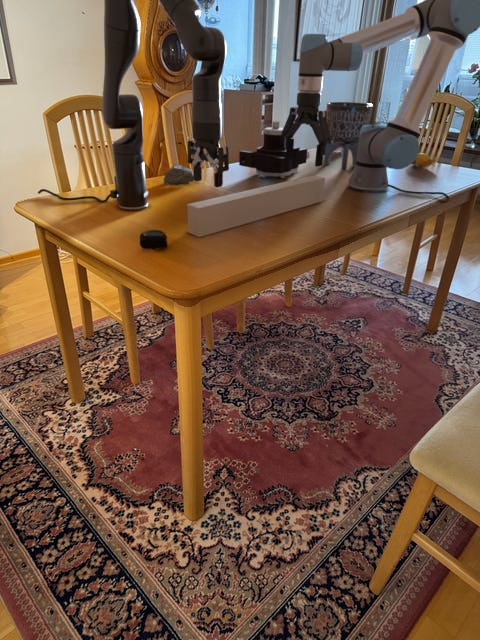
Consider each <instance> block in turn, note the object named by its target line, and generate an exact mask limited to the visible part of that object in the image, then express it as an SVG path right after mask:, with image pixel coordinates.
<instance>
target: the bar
mask: <svg viewBox="0 0 480 640" xmlns="http://www.w3.org/2000/svg"><path fill="white" fill-rule="evenodd" d="M325 183H326V177H324V176H319V175H315V174H314V175H308V176H305V177H300V178H296V179H291V180H288V181H287V180H286V181H283V182H278V183H274V184H269V185H265V186H260V187H257V188H256V187H255V188H253V189H247V190H242V191H239V192H234V193H231V194H227V195H222V196H221V195H220V196H217V197H211V198H209V199H205V200H200V201H195V202H192V203H186V211H187V212H186V213H187V232H188V234H191V235H193V236H196V237H198V238H201V237H205V236H208V235H212V234H214V233H218V232H222V231H226V230H229V229H232V228H235V227H239V226H243V225H246V224H249V223H253V222H257V221H259V220H263V219H267V218H270V217H273V216H277V215H280V214H284V213H287V212H291V211H294V210H297V209H301V208H304V207H308V206H311V205H315V204H318V203H321V202H324V194H325Z"/></svg>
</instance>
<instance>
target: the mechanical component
mask: <svg viewBox="0 0 480 640" xmlns="http://www.w3.org/2000/svg"><path fill="white" fill-rule="evenodd" d="M283 128H284V127H280V121H279V120H272V126H271V127H265V128H264V129H263V145H262V146H258V147H257V148H256V151H250V150H245V149H241V150H239V153H238V154H239V155H238V157H239V159H238V166H240V167H245V168H250V169H255V173H256V174H257V175H261V177H262V178H267V177H279V178H280V179H285V176H291V175H292V173H298V171H299V167H300V165H303V164H304V165H305V164H307V160H309V158H310V156H311V154H310V152H309V151H308V148H304V147H301V146H299V145H297V144H294V147H293V159H288V160H286V148H285V144H286V138H285V137H284V136H282V135H281V133H282V131H283Z"/></svg>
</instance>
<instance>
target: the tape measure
mask: <svg viewBox="0 0 480 640" xmlns="http://www.w3.org/2000/svg"><path fill="white" fill-rule="evenodd" d="M167 236H168V235H167V234H166V232H165V231H164V230H161V229H147V230H144V231H143V232H141V233H140V235H139V240H140V241H139V245H140V246H139V247H141V248H142V249H146V250H157V249H167V248H168V240H167V239H168V237H167Z"/></svg>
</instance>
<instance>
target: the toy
mask: <svg viewBox="0 0 480 640" xmlns="http://www.w3.org/2000/svg"><path fill="white" fill-rule="evenodd" d="M434 164H435V160H434V159H433V158H430V156H429V155H428V154H427V153H424V152H423V153H422V152H419V153H418V155H417V157H416V159H415V160H414V161H413V162H412V163H411V164H410V165H413V166H417V167H418V168H421V169H422V168H423V169H424V168H426V167H430V166H433V165H434Z"/></svg>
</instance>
